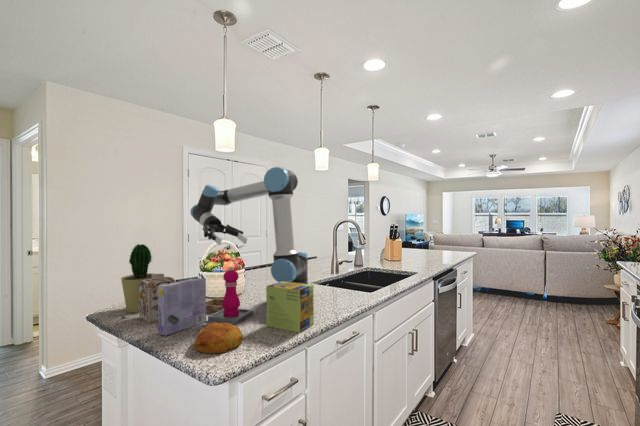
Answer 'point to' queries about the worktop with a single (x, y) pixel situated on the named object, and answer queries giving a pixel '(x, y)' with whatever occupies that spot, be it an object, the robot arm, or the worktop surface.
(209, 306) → the tray
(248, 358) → the worktop surface
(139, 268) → the potted cactus
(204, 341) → the bread pastry
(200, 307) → the cake pan box
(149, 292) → the decorative jar
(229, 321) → the tray
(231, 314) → the pepper mill
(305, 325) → the protein box
